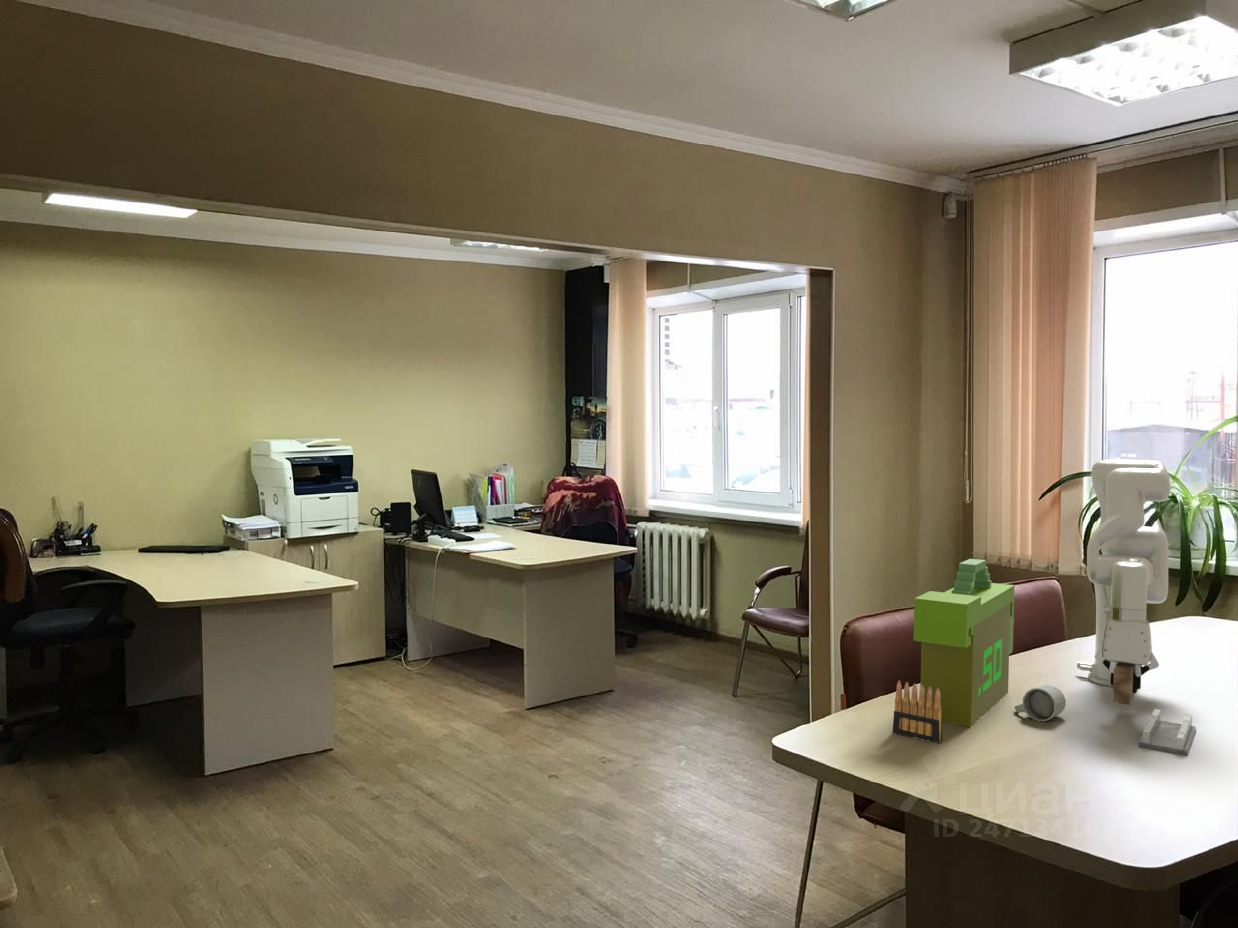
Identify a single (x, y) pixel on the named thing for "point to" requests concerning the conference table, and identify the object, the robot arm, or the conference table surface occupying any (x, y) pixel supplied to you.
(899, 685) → the ammunition clip
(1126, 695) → the door panel
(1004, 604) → the ammo box
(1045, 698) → the ceramic mug
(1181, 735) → the floor track
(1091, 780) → the conference table surface
